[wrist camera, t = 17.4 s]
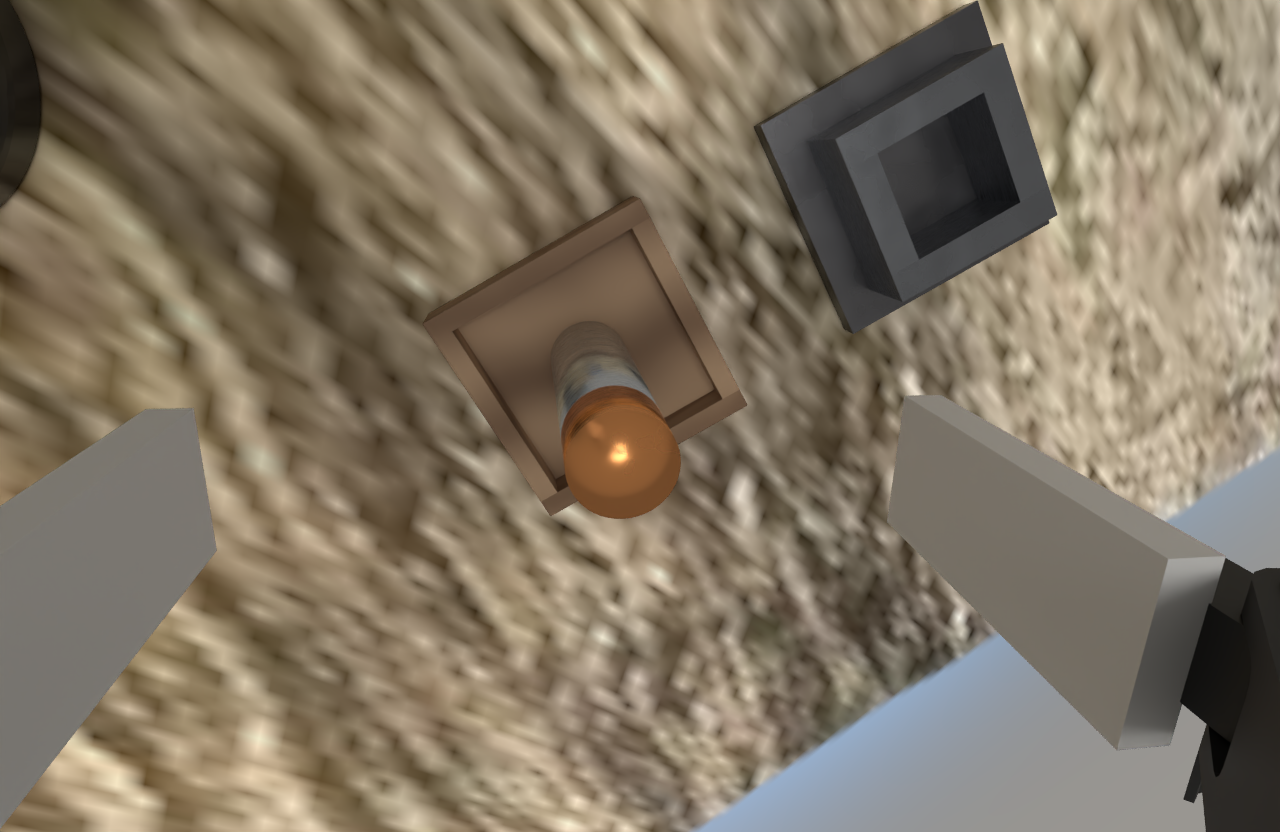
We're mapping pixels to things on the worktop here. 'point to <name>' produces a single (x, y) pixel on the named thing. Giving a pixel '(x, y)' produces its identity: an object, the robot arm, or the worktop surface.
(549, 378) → the tray
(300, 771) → the worktop surface
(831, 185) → the block
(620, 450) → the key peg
